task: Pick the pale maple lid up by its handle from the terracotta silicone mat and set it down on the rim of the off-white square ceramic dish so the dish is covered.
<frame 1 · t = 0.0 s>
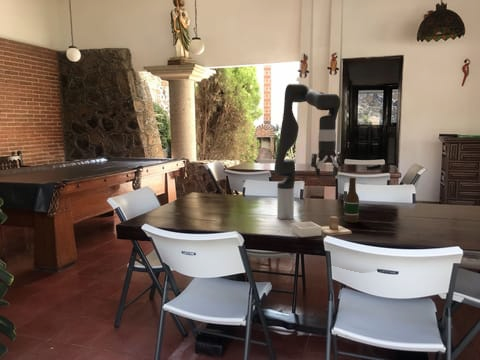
hand: (326, 176, 172), 29 cm above the table, fingers open, 8 cm apart
bowl: (306, 234, 185), on the table
mat: (333, 231, 189), on the table
beer bottle: (351, 221, 208), on the table
lid: (333, 230, 189), resting on mat
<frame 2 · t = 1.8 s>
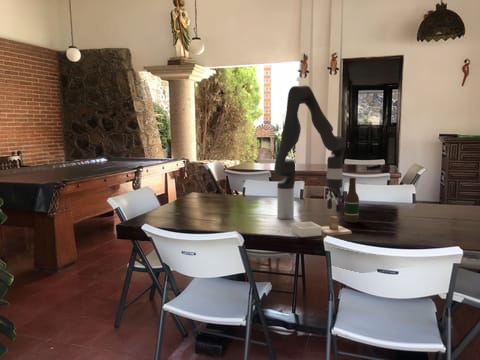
hand: (334, 210, 188), 11 cm above the table, fingers open, 8 cm apart
nothing on the table moved.
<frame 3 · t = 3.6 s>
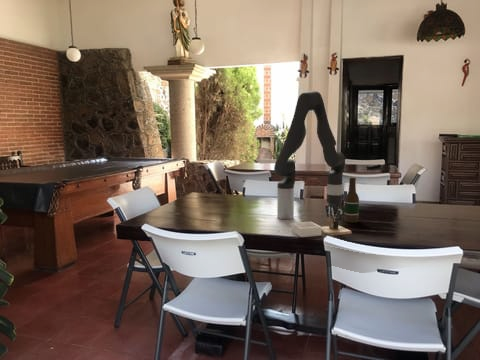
hand: (333, 227, 189), 2 cm above the table, fingers closed on lid, 3 cm apart
lid: (333, 230, 189), resting on mat, touching gripper
everything else where it was.
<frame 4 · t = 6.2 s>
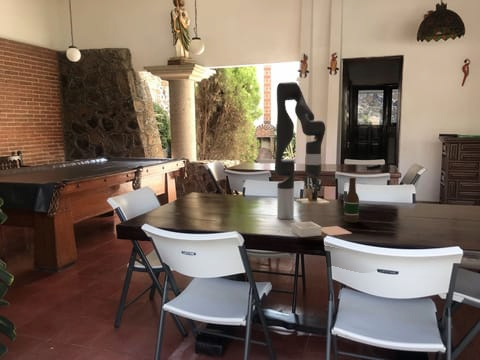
hand: (312, 198, 184), 17 cm above the table, fingers closed on lid, 3 cm apart
lid: (312, 202, 184), point 15 cm above the table, touching gripper
everything else where it was.
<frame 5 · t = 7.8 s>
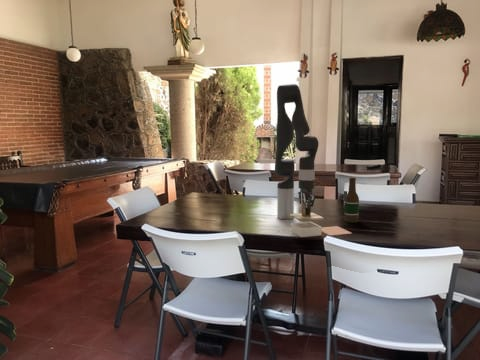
hand: (306, 214, 184), 10 cm above the table, fingers closed on lid, 3 cm apart
lid: (306, 217, 184), point 8 cm above the table, touching gripper
everything else where it was.
when the fingers open (7 cm above the table, at t = 9.0 s): lid drops 1 cm, resting on bowl.
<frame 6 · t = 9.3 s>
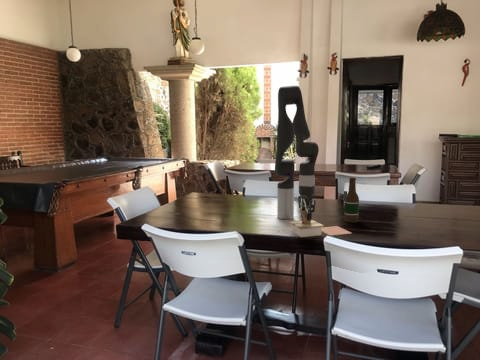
hand: (306, 219, 184), 7 cm above the table, fingers open, 5 cm apart
lid: (306, 225, 185), point 4 cm above the table, touching bowl
everything else where it was.
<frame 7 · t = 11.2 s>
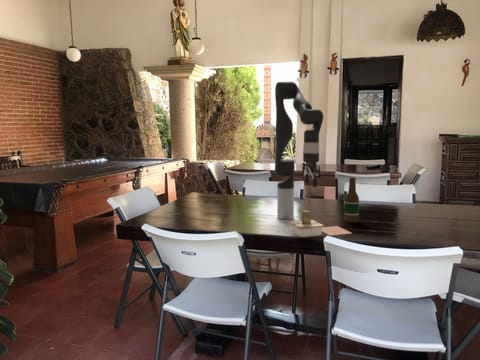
hand: (310, 185, 185), 23 cm above the table, fingers open, 8 cm apart
nothing on the table moved.
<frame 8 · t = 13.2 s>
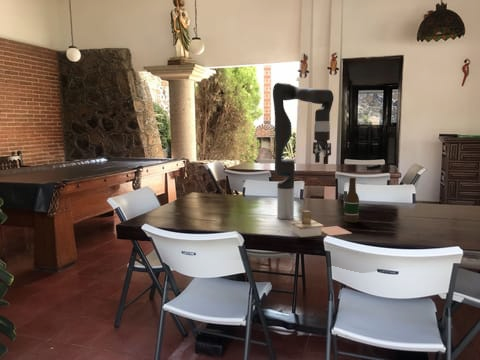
hand: (321, 163, 192), 33 cm above the table, fingers open, 8 cm apart
nothing on the table moved.
at the end: lid 0.0 cm off-centre on the bowl, point 4.5 cm above the bowl's base; lid tilted 0°; the gripper is holding nothing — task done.
